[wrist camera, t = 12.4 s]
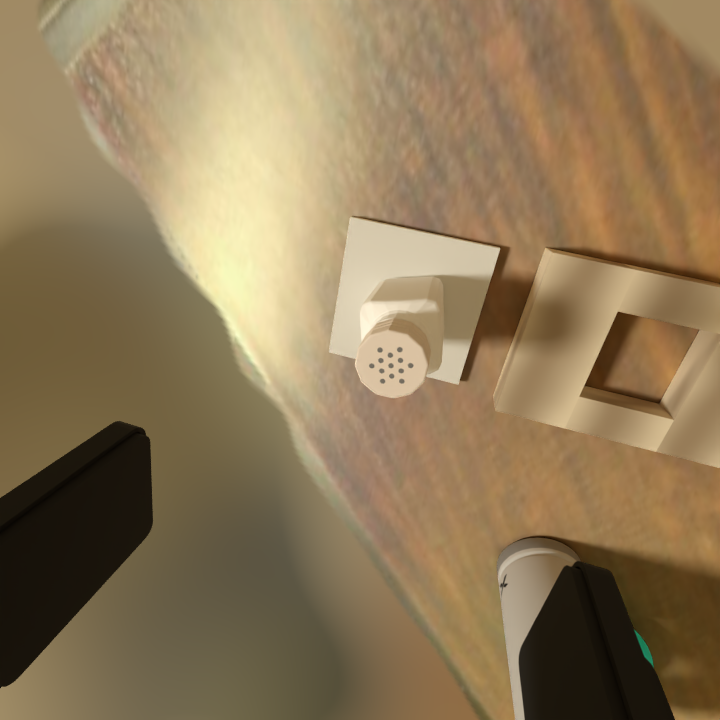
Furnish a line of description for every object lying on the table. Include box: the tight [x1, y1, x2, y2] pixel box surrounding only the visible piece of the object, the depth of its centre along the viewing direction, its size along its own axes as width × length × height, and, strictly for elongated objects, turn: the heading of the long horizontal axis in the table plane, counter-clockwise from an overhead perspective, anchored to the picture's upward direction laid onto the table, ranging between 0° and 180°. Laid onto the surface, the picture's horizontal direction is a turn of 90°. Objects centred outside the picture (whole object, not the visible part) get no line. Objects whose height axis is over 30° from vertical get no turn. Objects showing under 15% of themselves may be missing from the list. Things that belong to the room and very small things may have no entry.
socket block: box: [493, 248, 720, 468], centre depth 25 cm, size 14×10×2 cm
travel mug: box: [497, 538, 581, 720], centre depth 24 cm, size 6×7×20 cm
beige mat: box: [329, 216, 500, 384], centre depth 27 cm, size 9×9×1 cm
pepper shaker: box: [355, 276, 444, 398], centre depth 22 cm, size 4×4×10 cm
